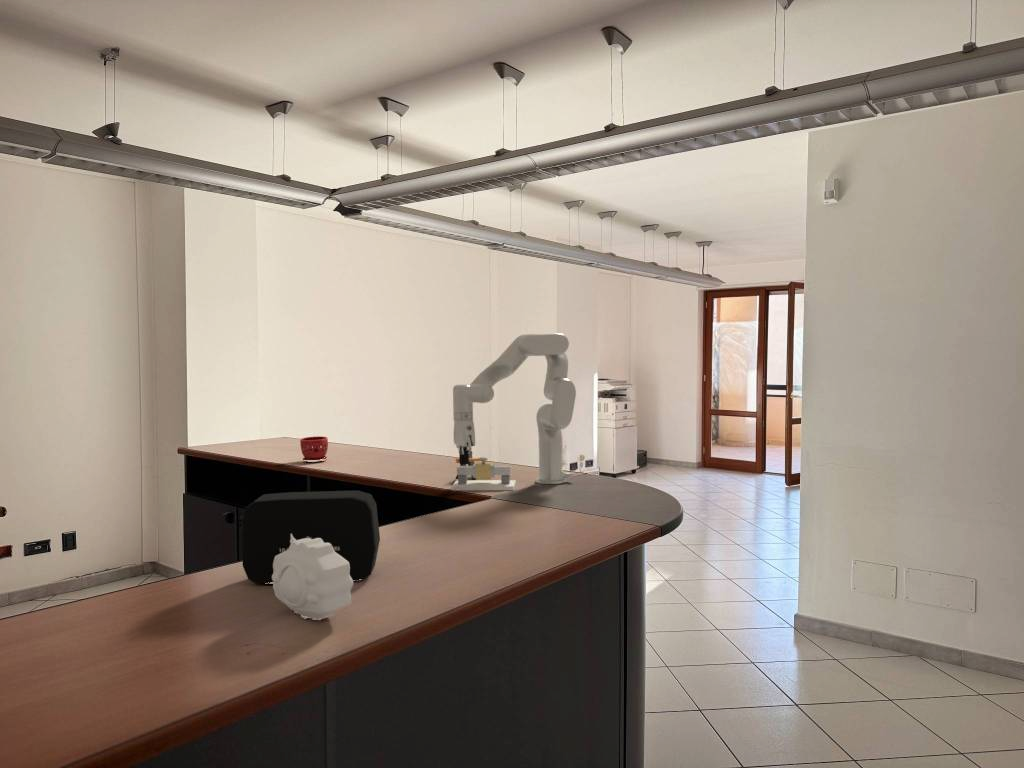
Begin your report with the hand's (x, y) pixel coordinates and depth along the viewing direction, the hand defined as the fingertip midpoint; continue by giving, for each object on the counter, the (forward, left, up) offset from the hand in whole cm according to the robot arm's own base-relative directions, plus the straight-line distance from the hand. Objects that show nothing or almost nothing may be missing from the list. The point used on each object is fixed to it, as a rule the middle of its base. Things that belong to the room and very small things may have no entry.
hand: (464, 464), depth 272 cm
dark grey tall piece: (+2, -24, -10) cm, 26 cm away
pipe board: (-7, -6, -10) cm, 13 cm away
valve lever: (-2, -4, 0) cm, 5 cm away
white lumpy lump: (+13, +132, -10) cm, 133 cm away
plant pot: (+85, -73, -10) cm, 112 cm away
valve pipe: (-7, -6, -6) cm, 11 cm away
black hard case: (+21, +107, -10) cm, 109 cm away
